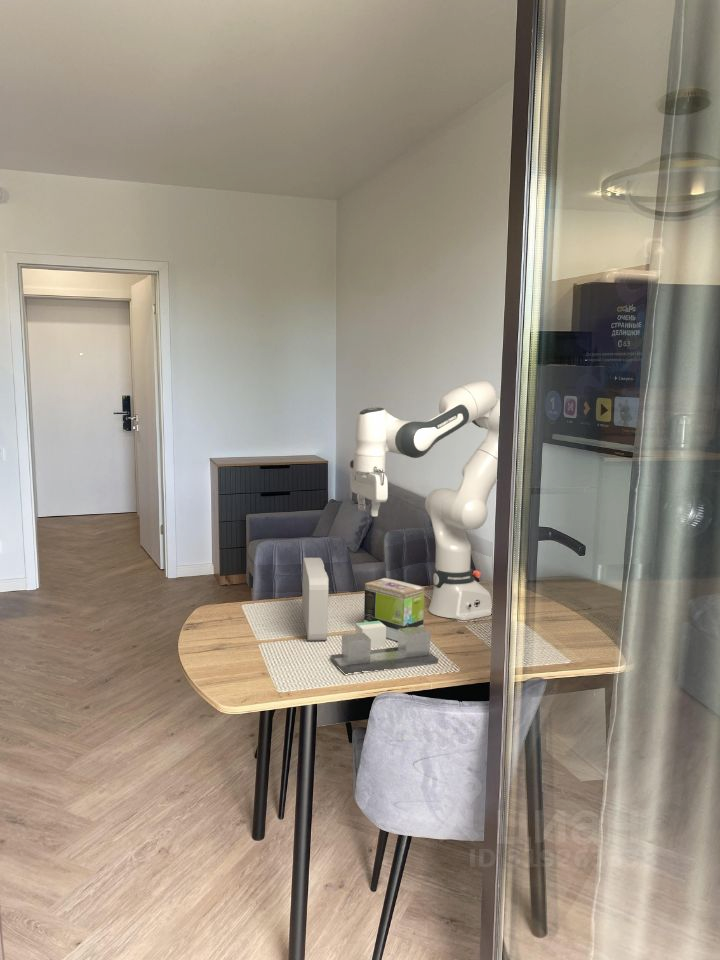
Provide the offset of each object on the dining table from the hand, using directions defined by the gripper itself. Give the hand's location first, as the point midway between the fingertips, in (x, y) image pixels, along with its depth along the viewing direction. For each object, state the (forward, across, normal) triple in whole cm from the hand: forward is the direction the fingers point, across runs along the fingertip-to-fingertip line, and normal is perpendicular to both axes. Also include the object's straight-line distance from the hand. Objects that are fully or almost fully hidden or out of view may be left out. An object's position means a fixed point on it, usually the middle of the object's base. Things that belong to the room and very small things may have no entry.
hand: (367, 513), depth 211 cm
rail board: (+35, -23, +3) cm, 42 cm away
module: (+35, -11, +2) cm, 37 cm away
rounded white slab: (+36, +9, +12) cm, 39 cm away
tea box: (+35, -4, -8) cm, 36 cm away
